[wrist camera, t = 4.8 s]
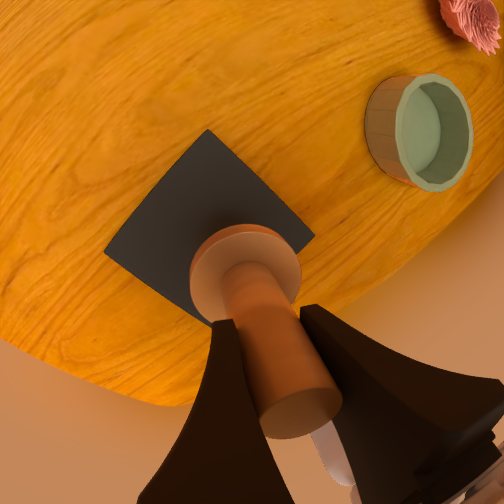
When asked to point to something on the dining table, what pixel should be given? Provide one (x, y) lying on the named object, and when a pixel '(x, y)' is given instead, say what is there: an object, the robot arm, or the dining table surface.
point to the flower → (473, 22)
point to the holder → (420, 130)
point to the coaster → (197, 218)
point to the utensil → (266, 327)
